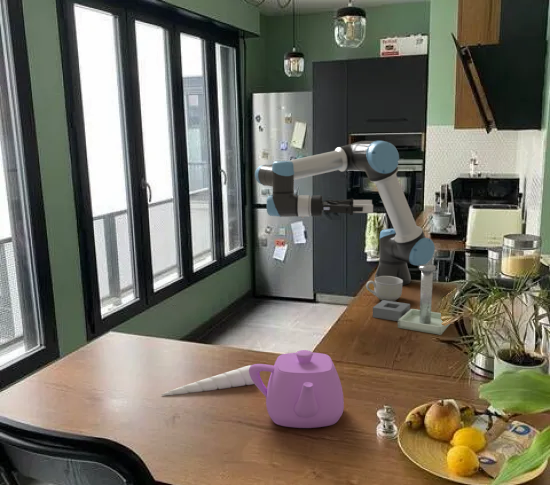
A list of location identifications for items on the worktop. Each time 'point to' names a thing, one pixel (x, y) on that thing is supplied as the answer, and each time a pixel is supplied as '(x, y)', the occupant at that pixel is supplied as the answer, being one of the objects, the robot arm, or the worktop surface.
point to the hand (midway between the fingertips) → (372, 206)
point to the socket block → (390, 310)
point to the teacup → (386, 287)
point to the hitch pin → (426, 292)
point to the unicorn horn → (217, 382)
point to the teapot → (301, 390)
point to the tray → (412, 323)
